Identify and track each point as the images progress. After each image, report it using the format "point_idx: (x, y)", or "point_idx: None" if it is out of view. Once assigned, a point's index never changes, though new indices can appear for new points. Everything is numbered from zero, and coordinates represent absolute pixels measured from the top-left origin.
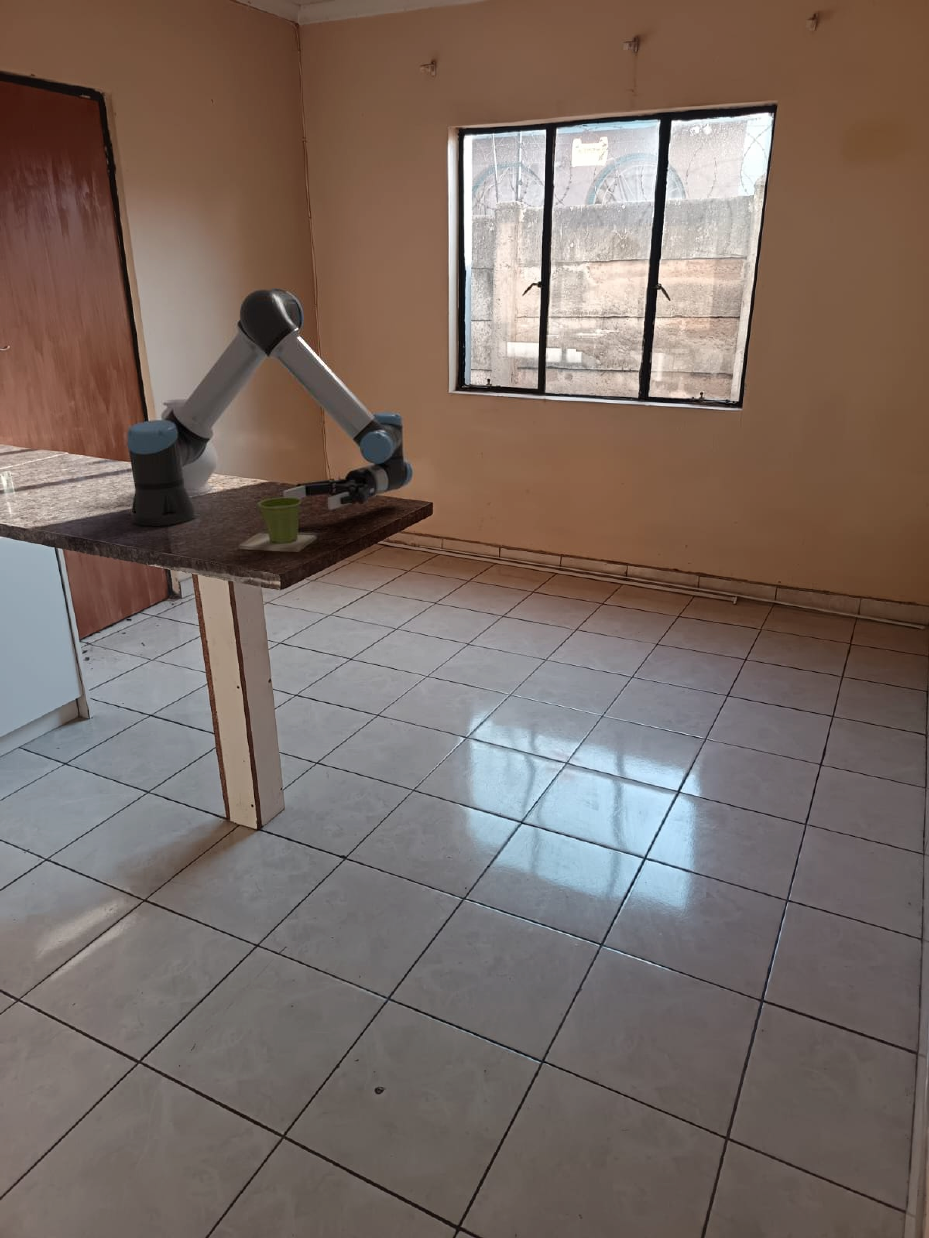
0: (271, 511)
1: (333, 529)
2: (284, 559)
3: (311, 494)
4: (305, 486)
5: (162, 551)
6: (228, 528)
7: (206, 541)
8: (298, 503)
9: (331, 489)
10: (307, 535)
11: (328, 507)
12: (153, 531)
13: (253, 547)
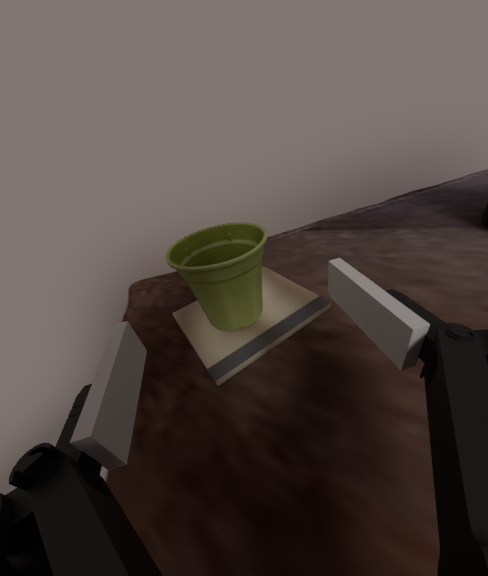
0: (202, 240)
1: (257, 477)
2: (168, 297)
3: (427, 400)
4: (439, 343)
5: (317, 226)
6: (424, 277)
7: (337, 251)
8: (166, 260)
9: (455, 574)
10: (225, 355)
11: (143, 346)
12: (443, 218)
13: None
